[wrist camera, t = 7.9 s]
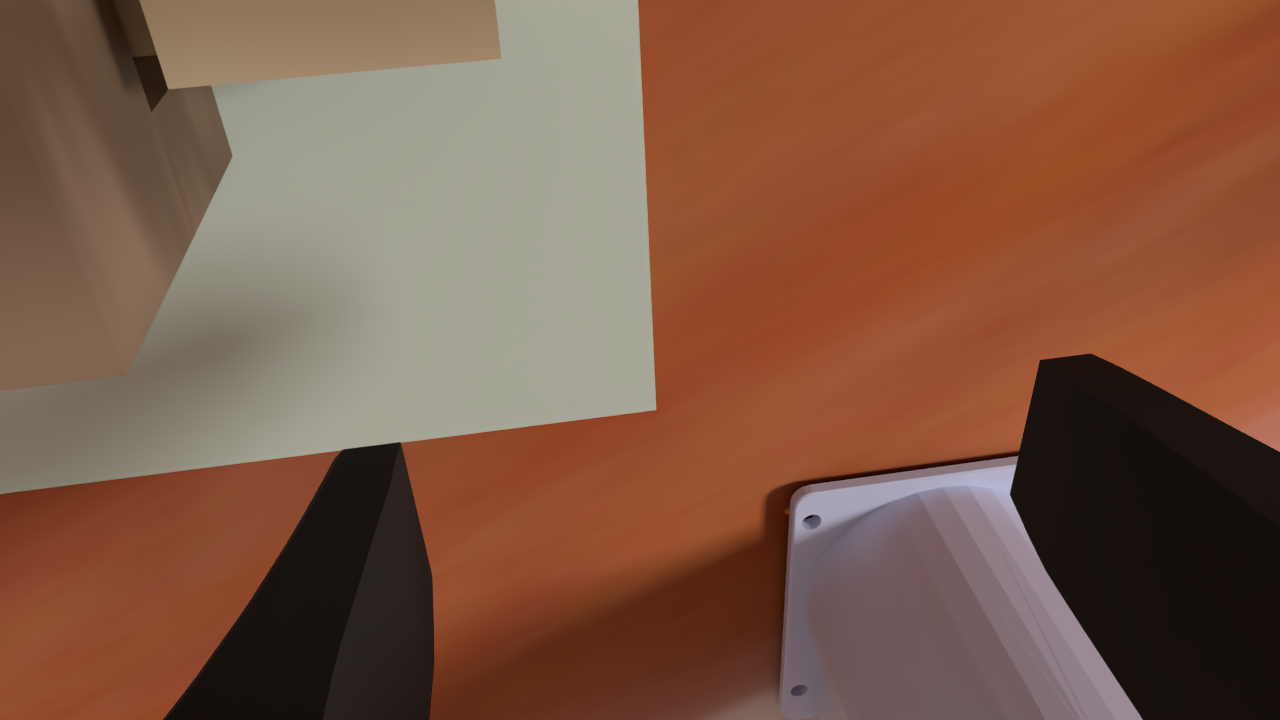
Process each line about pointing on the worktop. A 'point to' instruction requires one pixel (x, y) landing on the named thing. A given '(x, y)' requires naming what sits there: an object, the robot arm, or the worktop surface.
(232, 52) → the wooden u-shaped block
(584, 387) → the board
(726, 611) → the worktop surface
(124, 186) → the wooden c-clamp shape
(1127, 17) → the worktop surface
